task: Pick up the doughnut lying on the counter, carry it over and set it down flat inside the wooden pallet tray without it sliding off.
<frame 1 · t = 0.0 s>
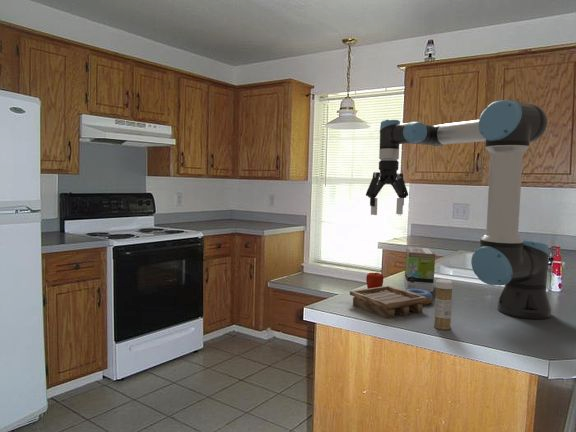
hand: (386, 214, 173), 28 cm above the counter, tool pointing down, fingers open, 13 cm apart
tea box: (418, 287, 172), on the counter
sprinkles bottle: (442, 328, 123), on the counter
red bell pepper: (374, 293, 162), on the counter
wooden pallet tray: (386, 308, 142), on the counter
doughnut: (417, 302, 151), on the counter
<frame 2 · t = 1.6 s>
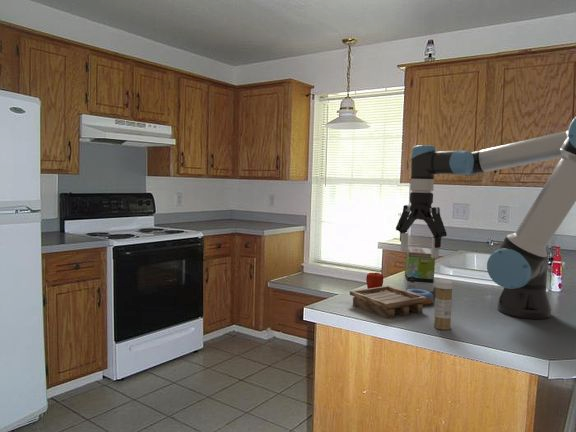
hand: (418, 254, 150), 16 cm above the counter, tool pointing down, fingers open, 13 cm apart
nothing on the counter moved.
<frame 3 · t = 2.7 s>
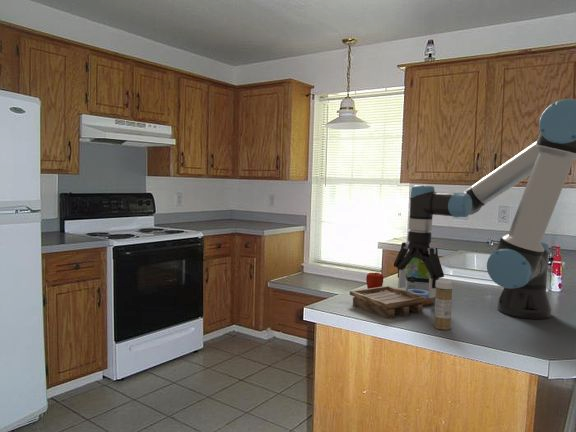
hand: (416, 292, 151), 3 cm above the counter, tool pointing down, fingers open, 13 cm apart
nothing on the counter moved.
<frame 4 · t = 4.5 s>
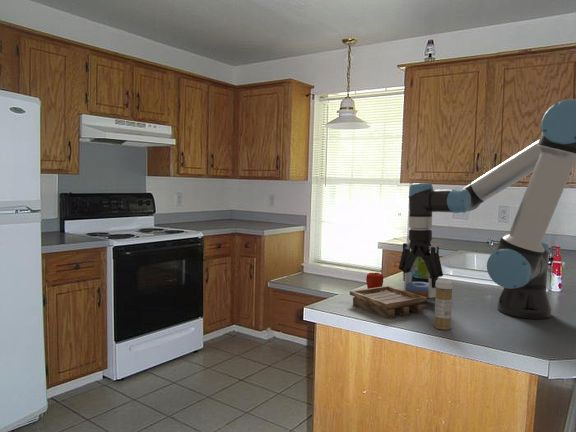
hand: (419, 294, 150), 3 cm above the counter, tool pointing down, fingers closed on doughnut, 10 cm apart
doughnut: (420, 295, 150), point 2 cm above the counter, touching gripper
everything else where it was.
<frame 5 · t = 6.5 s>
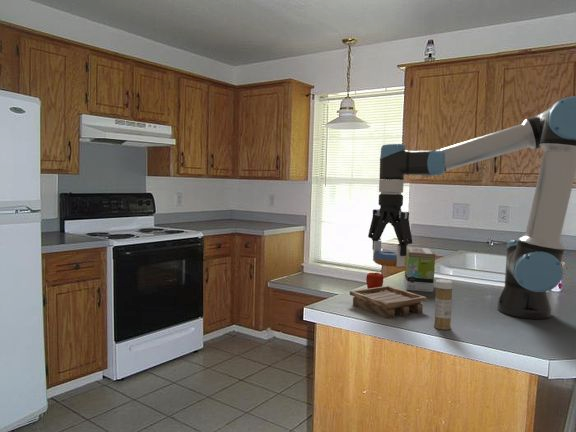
hand: (388, 263, 140), 15 cm above the counter, tool pointing down, fingers closed on doughnut, 10 cm apart
doughnut: (388, 264, 141), point 14 cm above the counter, touching gripper
everything else where it was.
when the fingers open (5 cm above the counter, at t = 8.6 s): doughnut drops 1 cm, resting on wooden pallet tray.
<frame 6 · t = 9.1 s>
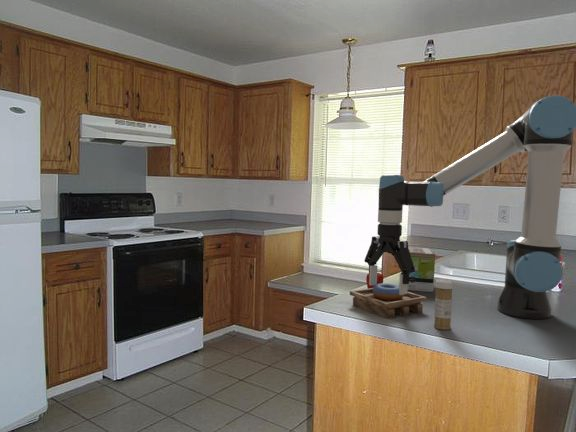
hand: (387, 289, 141), 6 cm above the counter, tool pointing down, fingers open, 13 cm apart
doughnut: (387, 298, 141), point 3 cm above the counter, touching wooden pallet tray
everything else where it was.
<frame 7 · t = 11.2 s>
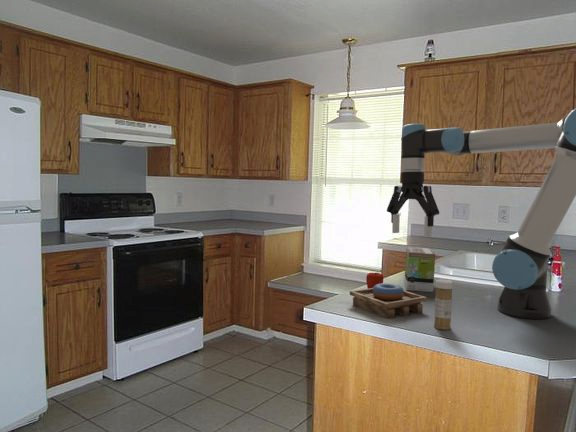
hand: (411, 234, 148), 23 cm above the counter, tool pointing down, fingers open, 13 cm apart
nothing on the counter moved.
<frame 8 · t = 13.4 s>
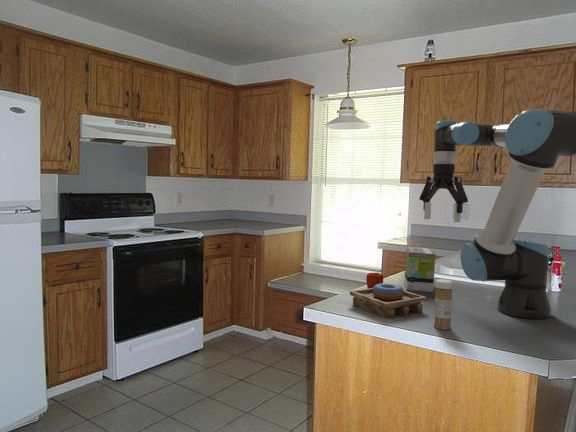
hand: (441, 220, 165), 27 cm above the counter, tool pointing down, fingers open, 13 cm apart
nothing on the counter moved.
at the end: doughnut inside the target area on the wooden pallet tray (0.3 cm from its centre), point 3.3 cm above the wooden pallet tray's base; the gripper is holding nothing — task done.
